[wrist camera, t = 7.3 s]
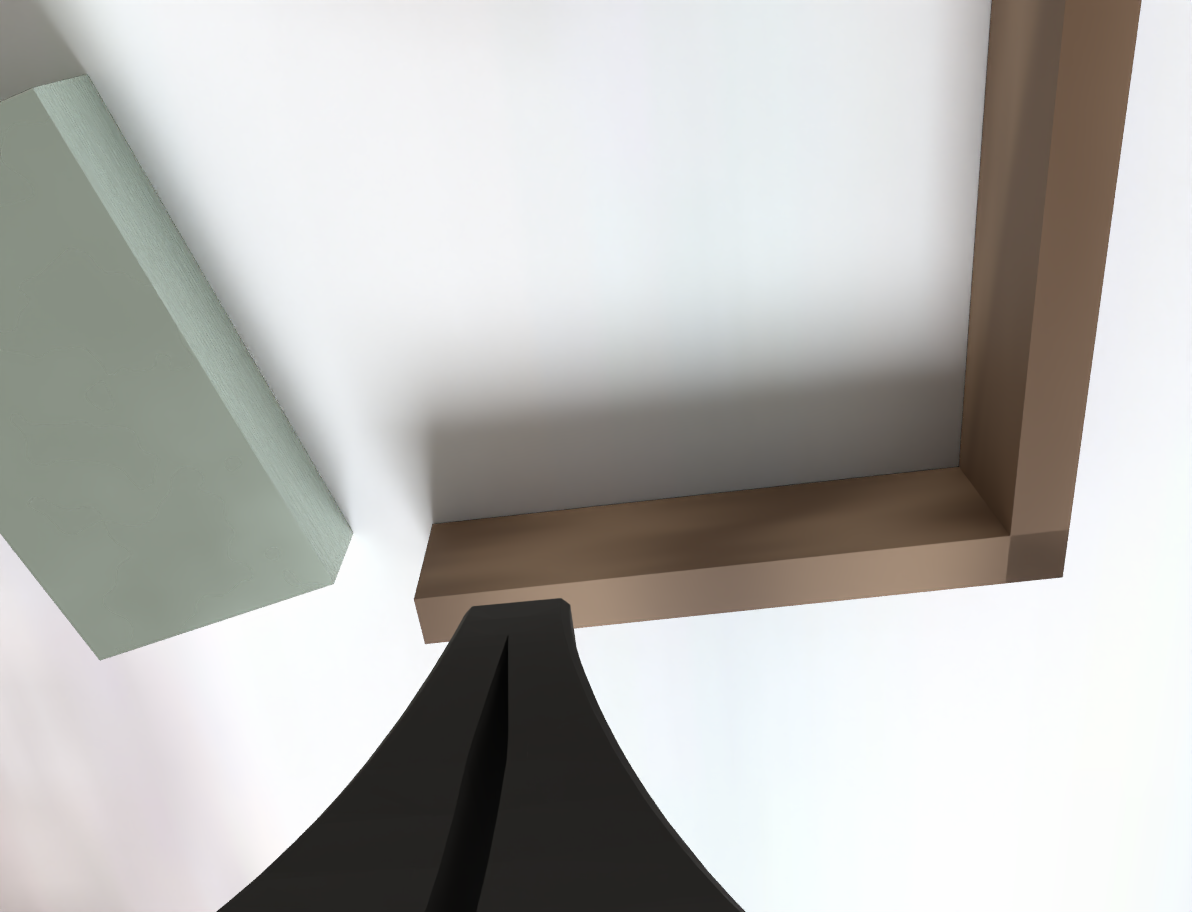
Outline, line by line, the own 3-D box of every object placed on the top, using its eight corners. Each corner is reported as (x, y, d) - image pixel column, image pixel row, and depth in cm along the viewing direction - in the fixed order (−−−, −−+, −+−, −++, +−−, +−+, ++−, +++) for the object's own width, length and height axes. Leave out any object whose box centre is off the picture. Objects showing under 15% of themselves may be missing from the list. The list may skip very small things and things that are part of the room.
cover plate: (97, 71, 19) (32, 87, 16) (356, 523, 23) (333, 583, 21) (-158, 182, 19) (-252, 211, 17) (143, 596, 24) (99, 660, 22)
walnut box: (1085, -293, 16) (1188, -341, 13) (1006, 504, 23) (1062, 577, 20) (270, -181, 16) (212, -207, 14) (442, 565, 23) (425, 643, 21)
